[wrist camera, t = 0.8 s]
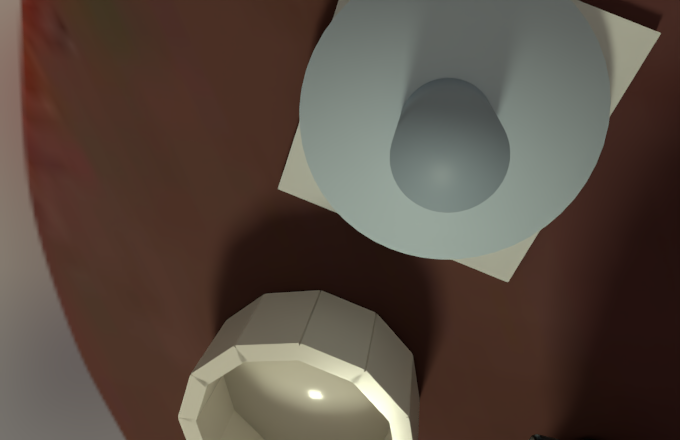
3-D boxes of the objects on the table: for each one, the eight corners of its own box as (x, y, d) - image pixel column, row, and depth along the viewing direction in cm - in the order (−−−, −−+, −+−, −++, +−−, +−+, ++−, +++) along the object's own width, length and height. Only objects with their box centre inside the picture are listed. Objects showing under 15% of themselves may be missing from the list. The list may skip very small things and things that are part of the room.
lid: (670, 29, 15) (762, 38, 11) (510, 288, 20) (530, 366, 16) (362, -94, 16) (334, -131, 11) (272, 191, 20) (227, 242, 16)
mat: (655, 32, 16) (660, 33, 16) (506, 277, 20) (508, 282, 20) (367, -82, 16) (365, -84, 16) (280, 185, 20) (277, 188, 20)
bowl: (453, 344, 22) (456, 407, 19) (371, 481, 26) (362, 552, 23) (245, 259, 22) (210, 306, 19) (198, 409, 26) (162, 470, 23)
